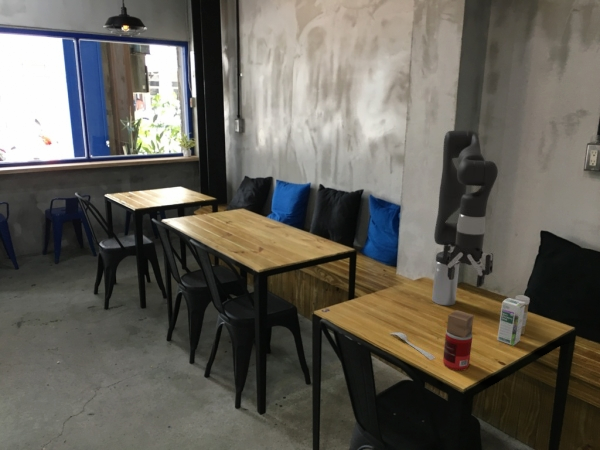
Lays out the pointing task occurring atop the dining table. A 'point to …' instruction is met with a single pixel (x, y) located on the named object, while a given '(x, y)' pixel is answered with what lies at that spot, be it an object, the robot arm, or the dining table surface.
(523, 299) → the sprinkles bottle
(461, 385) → the dining table surface
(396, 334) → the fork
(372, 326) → the dining table surface
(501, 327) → the syrup box
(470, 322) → the walnut cube
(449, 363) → the canned food
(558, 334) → the dining table surface
